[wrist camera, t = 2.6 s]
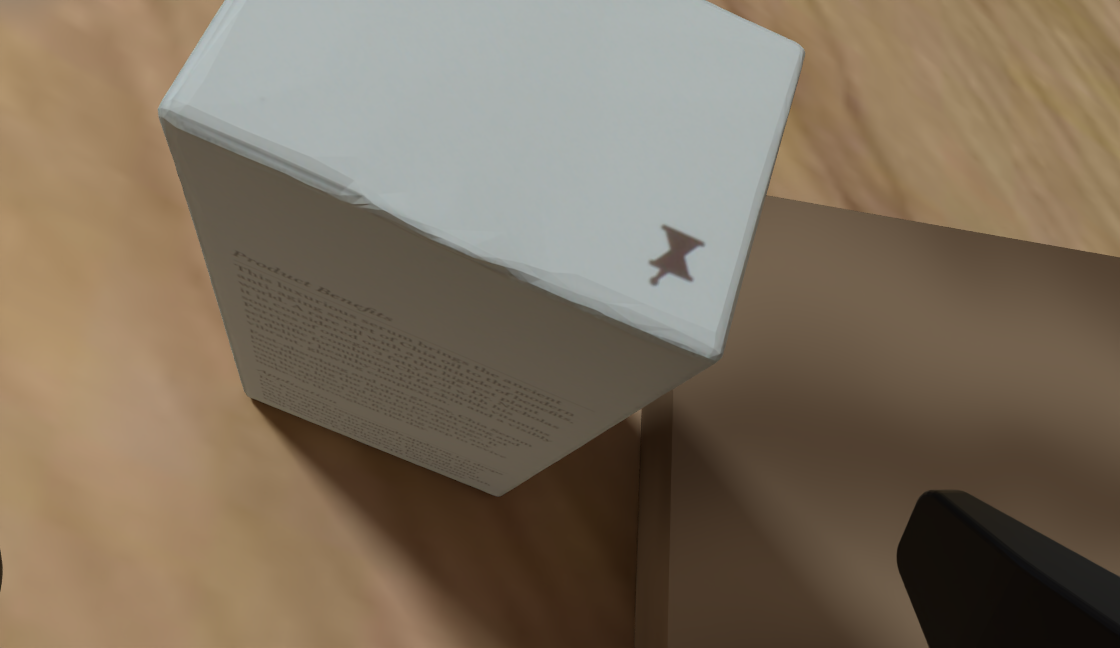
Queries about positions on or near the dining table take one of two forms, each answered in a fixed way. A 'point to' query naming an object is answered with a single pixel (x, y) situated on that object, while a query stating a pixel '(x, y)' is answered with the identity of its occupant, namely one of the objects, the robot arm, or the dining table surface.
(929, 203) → the dining table surface
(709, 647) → the walnut plinth
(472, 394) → the skincare box
